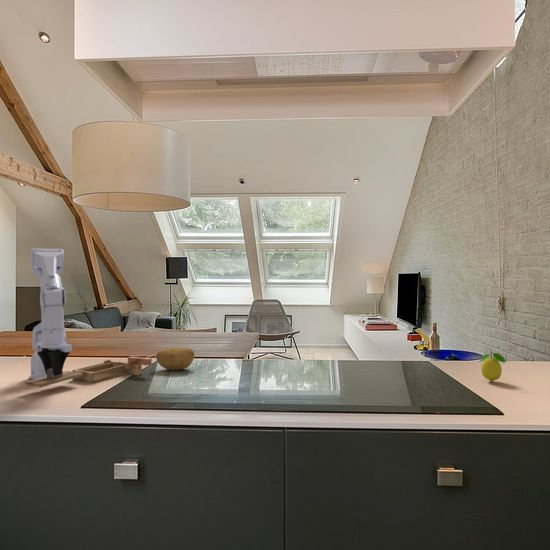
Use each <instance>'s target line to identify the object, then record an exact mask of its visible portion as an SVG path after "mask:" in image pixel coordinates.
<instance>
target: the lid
mask: <svg viewBox="0 0 550 550" xmlns="http://www.w3.org/2000/svg"><path fill="white" fill-rule="evenodd" d="M63 369H64V368H63ZM63 369H62V373H61V374H60V375H56V376H54V375H53V370H52V368H50V369H47V376H45V377H41V378H38V379H30V380H26V381H25V385H26V386H27V385H28V386H32V387H33V386H34V387H37V388H38V387H39V388H43V387H47V386H50V385H53V384H57V383H61V382H62V383H63V382H65V381H69V380H73V378H76V377H80V376H83V373H79V372H72V371H71V370H65V371H63Z"/></svg>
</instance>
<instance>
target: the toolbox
mask: <svg viewBox="0 0 550 550" xmlns="http://www.w3.org/2000/svg"><path fill="white" fill-rule="evenodd" d="M142 366H143V365H140V364H131V363H128V361H126V362H125V361H115V360H114V361H113V360H111V359H107V360H104V361H103V362H102V363H101V362H100V363H96V364H91V365H88V366H85V367H80V368H77V369H72V372H79V373H83V376H80V377H76V378H73V379H72V381H76V380H79V381H78V382H83V381H85V382H84V383H90V382H91V383H92V384H95V383H99V382H103V381H106V380H110V379H113V378H116V377H120V376H124V375H128V376H129V375H130V376H136V375H137V376H141V375H142V373H143V370H142V368H143V367H142ZM140 374H141V375H140ZM91 383H90V384H91Z"/></svg>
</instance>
